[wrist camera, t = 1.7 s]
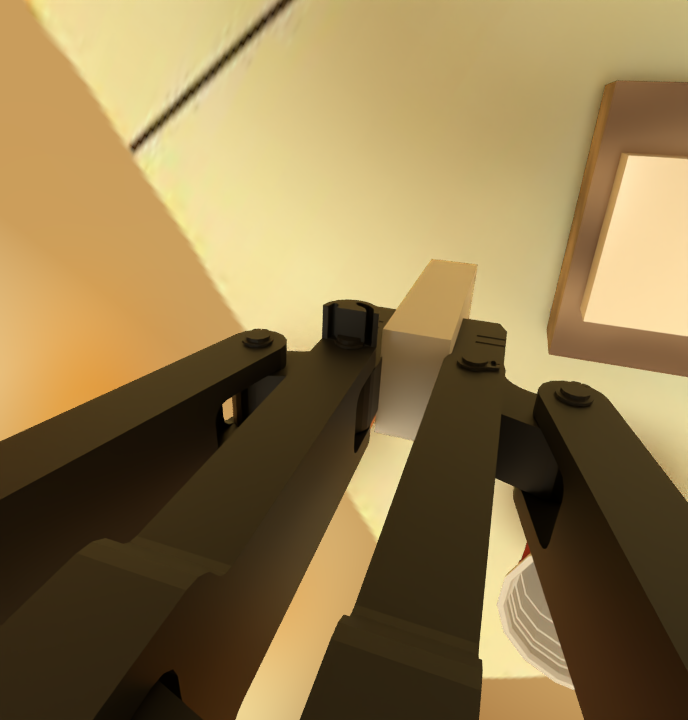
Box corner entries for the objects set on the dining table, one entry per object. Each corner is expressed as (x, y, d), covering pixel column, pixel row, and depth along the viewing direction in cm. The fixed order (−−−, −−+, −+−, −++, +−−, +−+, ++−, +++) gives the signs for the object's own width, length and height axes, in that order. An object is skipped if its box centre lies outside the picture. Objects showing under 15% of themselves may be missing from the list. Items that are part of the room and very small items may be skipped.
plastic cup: (591, 398, 34) (618, 521, 24) (705, 503, 34) (780, 668, 24) (474, 479, 39) (455, 607, 29) (574, 568, 40) (590, 724, 30)
